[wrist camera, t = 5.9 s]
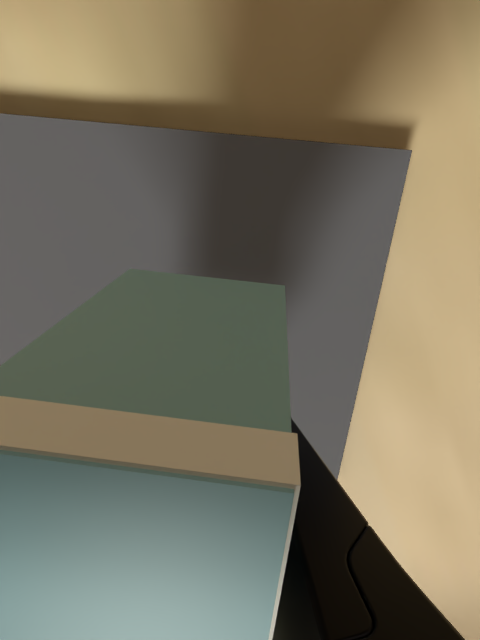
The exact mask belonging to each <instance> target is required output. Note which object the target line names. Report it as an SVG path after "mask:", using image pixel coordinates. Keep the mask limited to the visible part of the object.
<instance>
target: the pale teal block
mask: <svg viewBox="0 0 480 640" xmlns="http://www.w3.org/2000/svg"><path fill="white" fill-rule="evenodd" d="M300 487H301V481H300V466H299V451H298V435H297V433H292V431H291V409H290V386H289V364H288V342H287V319H286V297H285V285H276V284H266V283H257V282H248V281H239V280H230V279H220V278H211V277H202V276H193V275H184V274H174V273H165V272H156V271H147V270H138V269H129V270H127V271H126V272H125V273H123V274H122V275H121V276H119V277H118V278H117V279H115V280H114V281H113V282H111V283H110V284H109V285H107V286H106V287H105V288H103V289H102V290H101V291H99V292H98V293H97V294H95V295H94V296H93V297H91V298H90V299H89V300H87V301H86V302H85V303H83V304H82V305H81V306H79V307H78V308H77V309H75V310H74V311H73V312H71V313H70V314H69V315H67V316H66V317H65V318H63V319H62V320H61V321H59V322H58V323H57V324H55V325H54V326H53V327H51V328H50V329H49V330H47V331H46V332H45V333H43V334H42V335H41V336H39V337H38V338H37V339H35V340H34V341H33V342H31V343H30V344H29V345H27V346H26V347H25V348H23V349H22V350H21V351H19V352H18V353H17V354H15V355H14V356H13V357H11V358H10V359H9V360H7V361H6V362H5V363H3V364H2V365H1V366H0V640H272V638H273V633H274V627H275V622H276V617H277V611H278V606H279V600H280V595H281V590H282V584H283V579H284V573H285V568H286V563H287V557H288V552H289V546H290V541H291V535H292V530H293V525H294V519H295V514H296V508H297V503H298V498H299V492H300Z"/></svg>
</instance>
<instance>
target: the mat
mask: <svg viewBox="0 0 480 640" xmlns="http://www.w3.org/2000/svg"><path fill="white" fill-rule="evenodd" d="M411 152H412V150H402V149H391V148H380V147H368V146H357V145H346V144H335V143H324V142H313V141H302V140H290V139H279V138H268V137H257V136H246V135H235V134H223V133H212V132H201V131H190V130H179V129H168V128H157V127H145V126H134V125H123V124H112V123H101V122H90V121H79V120H67V119H56V118H45V117H34V116H23V115H12V114H0V366H1V365H2V364H3V363H5V362H6V361H7V360H9V359H10V358H11V357H13V356H14V355H15V354H17V353H18V352H19V351H21V350H22V349H23V348H25V347H26V346H27V345H29V344H30V343H31V342H33V341H34V340H35V339H37V338H38V337H39V336H41V335H42V334H43V333H45V332H46V331H47V330H49V329H50V328H51V327H53V326H54V325H55V324H57V323H58V322H59V321H61V320H62V319H63V318H65V317H66V316H67V315H69V314H70V313H71V312H73V311H74V310H75V309H77V308H78V307H79V306H81V305H82V304H83V303H85V302H86V301H87V300H89V299H90V298H91V297H93V296H94V295H95V294H97V293H98V292H99V291H101V290H102V289H103V288H105V287H106V286H107V285H109V284H110V283H111V282H113V281H114V280H115V279H117V278H118V277H119V276H121V275H122V274H123V273H125V272H126V271H127V270H129V269H138V270H147V271H156V272H165V273H174V274H184V275H193V276H202V277H211V278H220V279H230V280H239V281H248V282H257V283H266V284H276V285H285V297H286V319H287V342H288V364H289V386H290V409H291V418H292V419H293V421H294V422H295V423H296V425H297V426H298V427H299V429H300V430H301V432H302V433H303V434H304V436H305V437H306V438H307V440H308V441H309V443H310V444H311V445H312V447H313V448H314V449H315V451H316V452H317V454H318V455H319V456H320V458H321V459H322V460H323V462H324V463H325V464H326V466H327V467H328V469H329V470H330V471H331V473H332V474H333V475H334V477H335V478H336V480H337V479H338V474H339V470H340V466H341V461H342V457H343V452H344V448H345V444H346V439H347V435H348V430H349V426H350V422H351V417H352V413H353V408H354V404H355V399H356V395H357V391H358V386H359V382H360V377H361V373H362V369H363V364H364V360H365V355H366V351H367V347H368V342H369V338H370V333H371V329H372V324H373V320H374V316H375V311H376V307H377V302H378V298H379V294H380V289H381V285H382V280H383V276H384V272H385V267H386V263H387V258H388V254H389V249H390V245H391V241H392V236H393V232H394V227H395V223H396V219H397V214H398V210H399V205H400V201H401V197H402V192H403V188H404V183H405V179H406V174H407V170H408V166H409V161H410V157H411Z"/></svg>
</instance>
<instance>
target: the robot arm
mask: <svg viewBox="0 0 480 640" xmlns="http://www.w3.org/2000/svg"><path fill="white" fill-rule="evenodd" d="M291 431H292V433H297V435H298V451H299V466H300V481H301V487H300V492H299V498H298V503H297V508H296V514H295V519H294V525H293V530H292V535H291V541H290V546H289V552H288V557H287V563H286V568H285V573H284V579H283V584H282V590H281V595H280V600H279V606H278V611H277V617H276V622H275V627H274V633H273V638H272V640H465V639H464V638H463V637H462V636H461V635H460V633H459V632H458V631H457V630H456V629H455V628H454V627H453V626H452V624H451V623H450V622H449V621H448V620H447V619H446V618H445V617H444V615H443V614H442V613H441V612H440V611H439V610H438V609H437V608H436V606H435V605H434V604H433V603H432V602H431V601H430V600H429V598H428V597H427V596H426V595H425V594H424V593H423V592H422V590H421V589H420V588H419V587H418V586H417V584H416V583H415V582H414V581H413V580H412V579H411V577H410V576H409V575H408V574H407V573H406V572H405V570H404V569H403V568H402V567H401V565H400V564H399V563H398V562H397V560H396V559H395V558H394V556H393V555H392V554H391V553H390V551H389V550H388V549H387V547H386V546H385V545H384V543H383V542H382V541H381V539H380V538H379V537H378V535H377V534H376V533H375V531H374V530H373V529H372V527H371V526H368V522H367V521H366V519H365V518H364V516H363V515H362V514H361V512H360V511H359V510H358V508H357V507H356V506H355V504H354V503H353V501H352V500H351V499H350V497H349V496H348V495H347V493H346V492H345V490H344V489H343V488H342V486H341V485H340V484H339V482H338V481H337V480H336V478H335V477H334V475H333V474H332V473H331V471H330V470H329V469H328V467H327V466H326V464H325V463H324V462H323V460H322V459H321V458H320V456H319V455H318V454H317V452H316V451H315V449H314V448H313V447H312V445H311V444H310V443H309V441H308V440H307V438H306V437H305V436H304V434H303V433H302V432H301V430H300V429H299V427H298V426H297V425H296V423H295V422H294V421H293V419H292V418H291Z"/></svg>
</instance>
